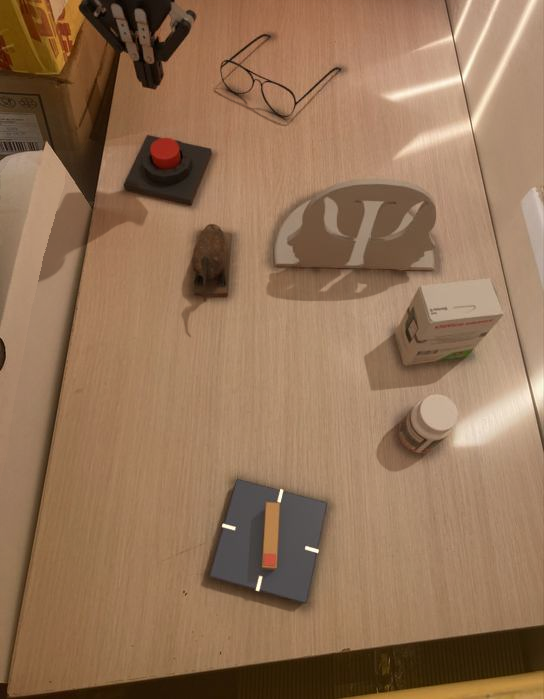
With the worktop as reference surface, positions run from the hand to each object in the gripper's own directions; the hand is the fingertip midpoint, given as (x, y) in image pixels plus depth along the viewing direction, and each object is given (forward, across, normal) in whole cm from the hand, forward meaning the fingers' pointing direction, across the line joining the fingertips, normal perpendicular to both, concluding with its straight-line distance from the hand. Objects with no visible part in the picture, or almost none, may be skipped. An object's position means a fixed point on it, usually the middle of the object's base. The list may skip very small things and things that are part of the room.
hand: (151, 83), depth 65 cm
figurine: (+15, -11, +16) cm, 25 cm away
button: (+12, 0, 0) cm, 12 cm away
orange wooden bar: (+12, -27, +46) cm, 55 cm away
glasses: (+15, -11, -24) cm, 30 cm away
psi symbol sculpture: (+15, -28, +3) cm, 32 cm away
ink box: (+15, -41, +18) cm, 47 cm away
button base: (+15, 0, 0) cm, 15 cm away
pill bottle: (+15, -41, +30) cm, 53 cm away
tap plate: (+15, -27, +46) cm, 55 cm away
